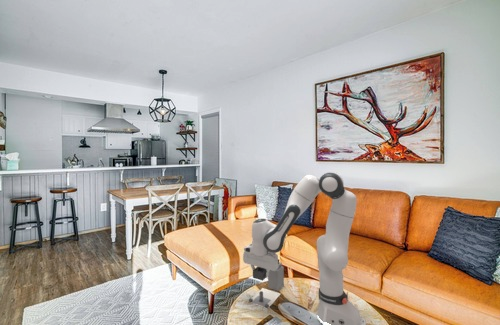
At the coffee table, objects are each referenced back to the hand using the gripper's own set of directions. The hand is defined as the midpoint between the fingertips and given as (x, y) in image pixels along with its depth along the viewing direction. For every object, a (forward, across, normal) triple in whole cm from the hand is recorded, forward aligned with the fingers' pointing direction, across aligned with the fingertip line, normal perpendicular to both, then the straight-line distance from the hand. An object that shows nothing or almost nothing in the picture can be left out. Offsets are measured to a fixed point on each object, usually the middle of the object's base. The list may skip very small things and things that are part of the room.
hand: (260, 274), depth 137 cm
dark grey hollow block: (+1, 0, 0) cm, 1 cm away
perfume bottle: (+16, -1, -17) cm, 24 cm away
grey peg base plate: (+16, 0, -4) cm, 17 cm away
